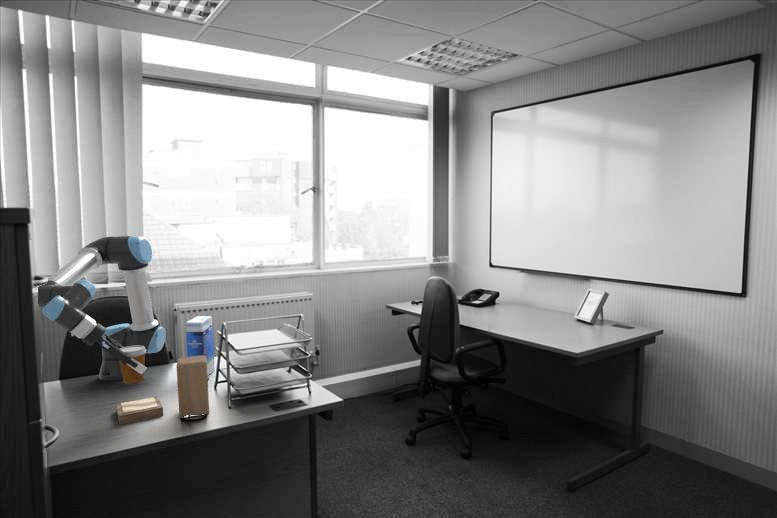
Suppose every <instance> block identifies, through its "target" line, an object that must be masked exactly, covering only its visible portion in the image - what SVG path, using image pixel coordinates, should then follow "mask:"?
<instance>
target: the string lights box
mask: <svg viewBox="0 0 777 518" xmlns="http://www.w3.org/2000/svg"><path fill="white" fill-rule="evenodd" d="M213 329H214V328H213V316H212V315H207V316H206V315H204V316H203V315H202V316H201V315H198V316H195V317H193V318H192V319H190V320H188V321H186V322H185V335H186V354H187V355H186V357H192V356H201V355H204V356H206V359H207V376H208V375H209V374H210V375H211V374H212V373H213V372H214V371H215V370H216V369H215V368H216V367H215V352H214V349H215V347H214V332H213ZM210 375H209V376H210ZM209 376H208V377H209Z"/></svg>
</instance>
